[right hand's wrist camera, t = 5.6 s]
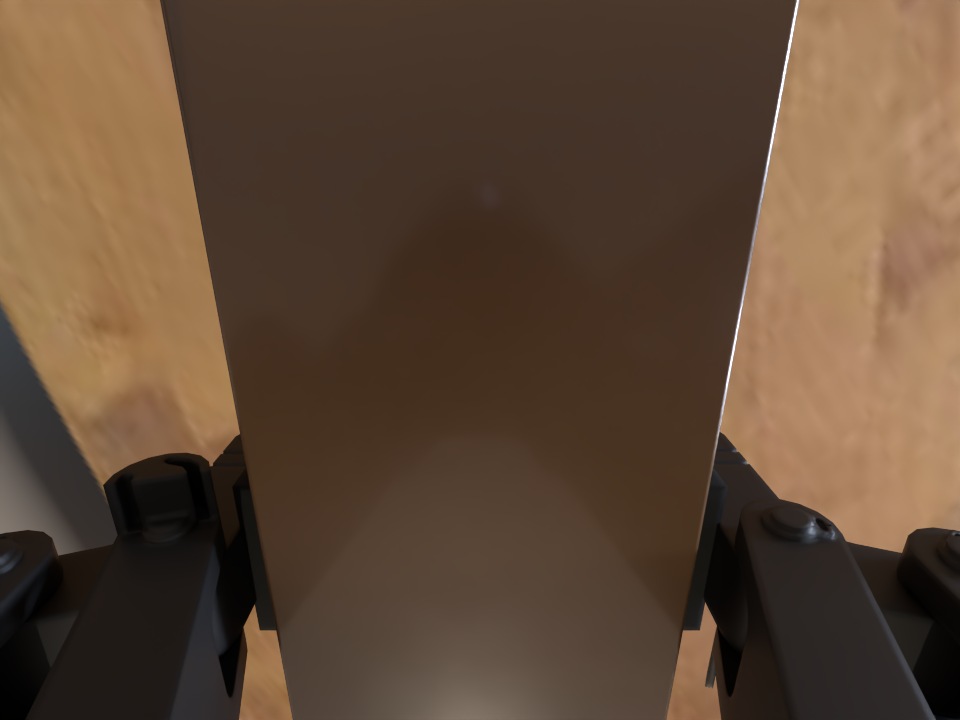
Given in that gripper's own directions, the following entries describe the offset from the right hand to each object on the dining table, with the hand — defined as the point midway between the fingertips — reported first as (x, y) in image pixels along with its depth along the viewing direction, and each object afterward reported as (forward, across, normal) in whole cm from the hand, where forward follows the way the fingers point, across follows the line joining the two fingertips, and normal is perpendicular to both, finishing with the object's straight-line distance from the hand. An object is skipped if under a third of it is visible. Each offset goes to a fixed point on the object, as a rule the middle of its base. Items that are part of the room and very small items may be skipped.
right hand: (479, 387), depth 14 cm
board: (0, 0, -22) cm, 23 cm away
